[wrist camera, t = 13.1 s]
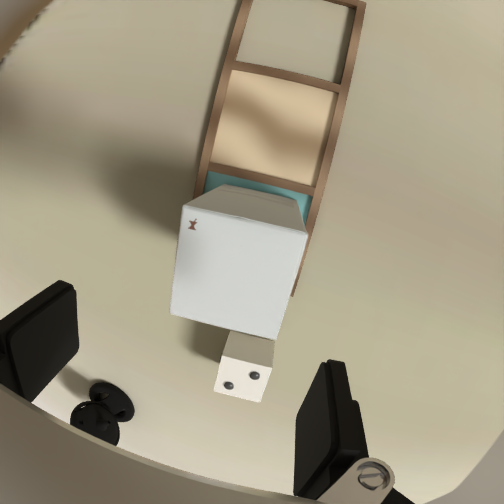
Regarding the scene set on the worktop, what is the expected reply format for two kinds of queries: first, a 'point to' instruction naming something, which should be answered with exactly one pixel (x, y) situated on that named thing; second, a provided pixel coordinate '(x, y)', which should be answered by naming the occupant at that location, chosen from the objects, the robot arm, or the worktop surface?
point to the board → (276, 127)
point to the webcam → (103, 413)
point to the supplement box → (238, 259)
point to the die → (245, 366)
